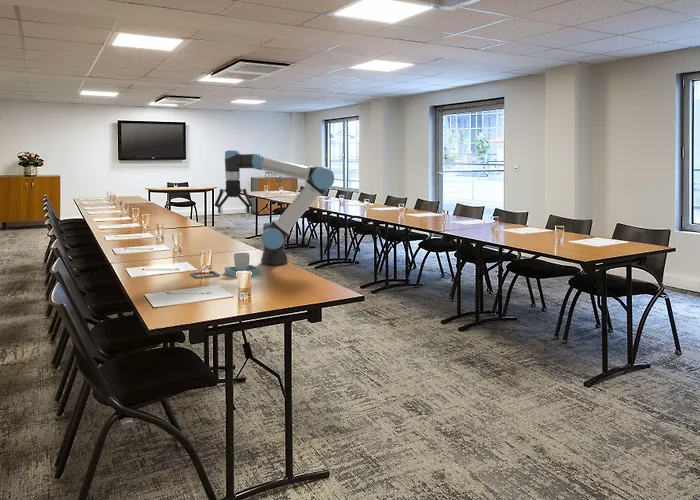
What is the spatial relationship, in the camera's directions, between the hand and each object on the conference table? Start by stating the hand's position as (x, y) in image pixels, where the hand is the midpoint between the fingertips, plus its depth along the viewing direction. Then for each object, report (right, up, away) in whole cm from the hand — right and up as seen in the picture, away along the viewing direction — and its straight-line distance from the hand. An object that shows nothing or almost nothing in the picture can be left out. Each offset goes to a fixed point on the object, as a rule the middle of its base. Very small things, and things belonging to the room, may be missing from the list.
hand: (234, 219), depth 315 cm
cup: (+6, -29, -12) cm, 32 cm away
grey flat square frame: (-12, -29, -16) cm, 35 cm away
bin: (+7, -29, -12) cm, 32 cm away
